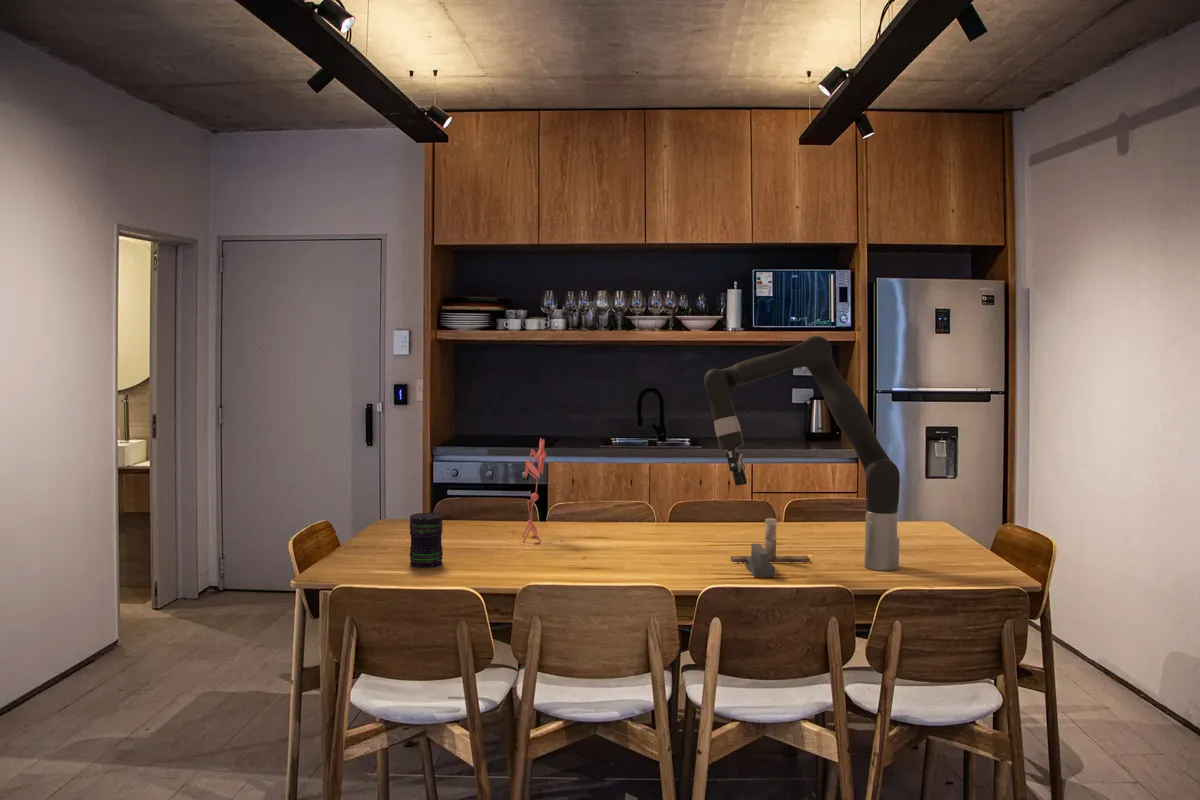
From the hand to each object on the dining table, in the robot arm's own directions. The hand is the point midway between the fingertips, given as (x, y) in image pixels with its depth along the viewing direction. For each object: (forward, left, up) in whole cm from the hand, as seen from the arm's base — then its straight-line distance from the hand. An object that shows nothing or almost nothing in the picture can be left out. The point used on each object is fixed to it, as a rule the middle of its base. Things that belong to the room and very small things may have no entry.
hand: (741, 484), depth 280 cm
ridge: (-4, +8, -25) cm, 26 cm away
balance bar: (-10, -6, -25) cm, 28 cm away
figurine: (+62, -39, -25) cm, 77 cm away
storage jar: (+96, -2, -25) cm, 99 cm away
